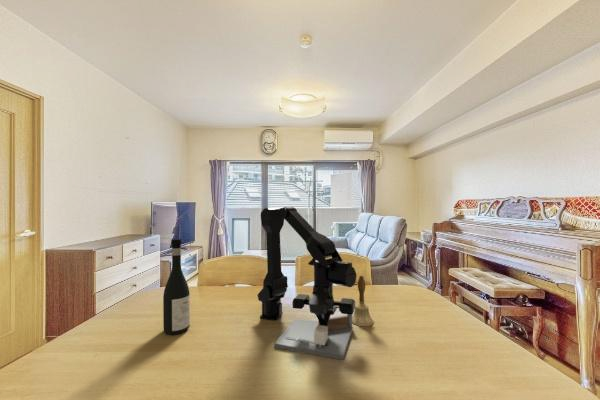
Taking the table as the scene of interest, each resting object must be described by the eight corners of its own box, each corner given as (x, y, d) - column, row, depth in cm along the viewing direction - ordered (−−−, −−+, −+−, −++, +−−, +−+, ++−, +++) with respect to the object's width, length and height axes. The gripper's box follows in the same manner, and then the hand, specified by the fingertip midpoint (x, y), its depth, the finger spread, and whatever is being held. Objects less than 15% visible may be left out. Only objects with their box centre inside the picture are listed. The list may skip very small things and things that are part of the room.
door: (317, 328, 91) (317, 318, 91) (345, 324, 94) (345, 314, 94) (319, 331, 89) (319, 320, 89) (348, 327, 92) (348, 316, 92)
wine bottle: (195, 327, 95) (194, 238, 95) (175, 337, 88) (175, 241, 88) (177, 322, 99) (177, 236, 99) (157, 332, 92) (157, 239, 91)
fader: (314, 345, 80) (314, 330, 80) (317, 338, 84) (317, 324, 84) (324, 347, 79) (324, 332, 79) (327, 340, 83) (327, 326, 83)
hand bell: (374, 327, 95) (374, 279, 95) (349, 325, 97) (349, 278, 96) (373, 317, 103) (373, 273, 103) (350, 315, 105) (350, 272, 105)
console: (274, 347, 82) (274, 328, 82) (296, 320, 100) (295, 305, 100) (342, 359, 76) (342, 339, 76) (353, 329, 94) (353, 312, 94)
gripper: (285, 285, 83) (286, 339, 83) (349, 291, 77) (350, 349, 77) (298, 276, 94) (298, 323, 93) (355, 280, 88) (356, 331, 88)
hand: (324, 331), depth 88 cm, fingers closed
